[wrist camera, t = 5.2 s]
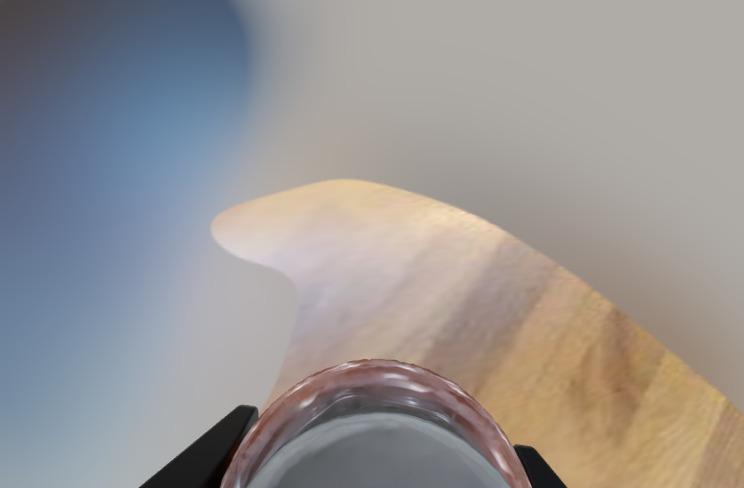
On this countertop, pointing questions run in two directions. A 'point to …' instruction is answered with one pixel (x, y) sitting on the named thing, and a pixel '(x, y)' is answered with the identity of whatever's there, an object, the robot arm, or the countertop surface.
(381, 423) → the supplement bottle
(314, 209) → the countertop surface
